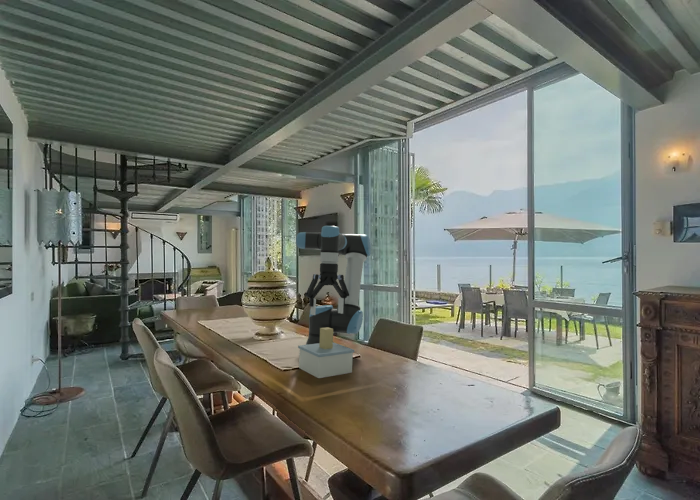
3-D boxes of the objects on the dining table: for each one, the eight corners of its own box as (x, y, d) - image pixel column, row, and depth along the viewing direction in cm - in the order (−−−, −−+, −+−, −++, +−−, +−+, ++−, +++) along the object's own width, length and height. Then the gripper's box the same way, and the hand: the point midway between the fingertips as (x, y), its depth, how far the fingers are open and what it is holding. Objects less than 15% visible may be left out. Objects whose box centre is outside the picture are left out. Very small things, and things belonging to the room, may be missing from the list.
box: (330, 364, 170) (331, 344, 170) (351, 374, 157) (352, 352, 157) (298, 369, 161) (299, 348, 161) (318, 380, 148) (319, 356, 148)
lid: (331, 344, 171) (332, 323, 171) (354, 352, 157) (355, 330, 157) (298, 348, 161) (298, 326, 161) (318, 357, 147) (319, 333, 148)
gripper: (348, 263, 170) (346, 311, 170) (298, 261, 156) (296, 314, 155) (358, 264, 164) (356, 313, 164) (307, 262, 150) (305, 316, 149)
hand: (327, 314), depth 159 cm, fingers open, 13 cm apart
